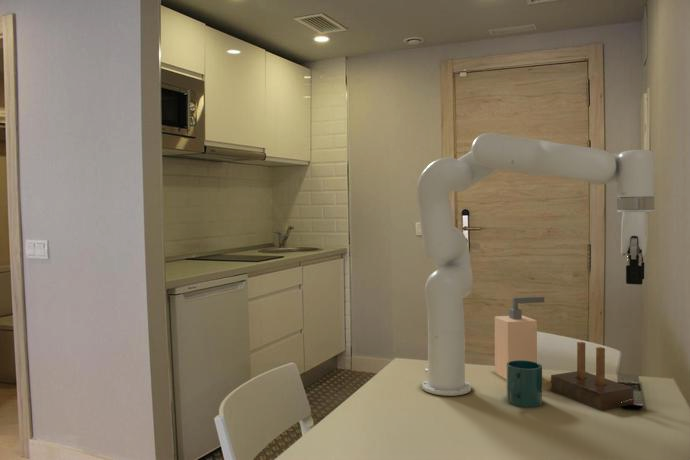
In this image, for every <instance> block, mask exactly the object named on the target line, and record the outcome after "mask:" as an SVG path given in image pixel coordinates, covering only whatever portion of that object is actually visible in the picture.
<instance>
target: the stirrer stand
mask: <svg viewBox="0 0 690 460" xmlns="http://www.w3.org/2000/svg"><path fill="white" fill-rule="evenodd" d="M550 391H552V392H554V393H557V394H559V395H562V396H564V397H567V398H569V399H572V400H574V401H577V402H579V403H581V404H584V405H587V406H589V407H591V408H594V409H597V410H599V411H605V410H611V409H615V408H621V407H627V406H631V405H634V387H632V386H628V385H626V384H623V383H620V382H617V381H614V380H611V379H608V378H605V386H601V387H600V386H598V385H596V374H593V373H590V372H587V371H585V379H582V380H581V379H578V378H577V370H576V371H569V372H562V373H556V374H551V375H550ZM629 399H633V401H627V402H623V401H626V400H629ZM621 402H622V403H621Z"/></svg>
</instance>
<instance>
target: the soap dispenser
mask: <svg viewBox="0 0 690 460" xmlns="http://www.w3.org/2000/svg"><path fill="white" fill-rule="evenodd" d="M538 303H545V296H520V297H512V308H509V309H508V315H496V316H494V374H496V375H498V376H499V377H500V378H503V379H504V380H506V381H507V363H508V362H510V361H516V360H524V361H532V362H536V363H538V320H537V319H533V318H531V317H528V316H525V315H524V314H523V313H522V312H523V310H522V309H521V308H519V304H538ZM522 314H523V315H522Z"/></svg>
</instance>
